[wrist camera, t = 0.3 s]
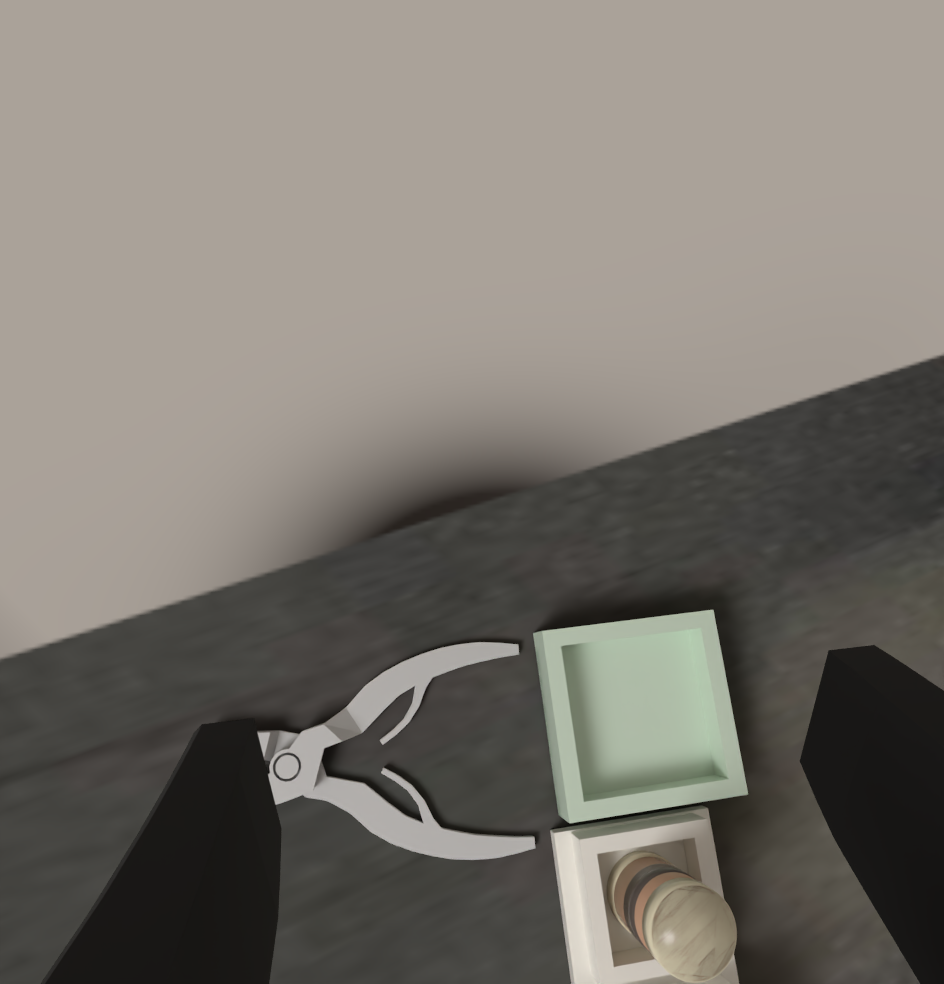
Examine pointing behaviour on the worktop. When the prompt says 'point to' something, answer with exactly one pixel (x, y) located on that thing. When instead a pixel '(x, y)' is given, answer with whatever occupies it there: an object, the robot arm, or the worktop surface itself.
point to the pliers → (305, 775)
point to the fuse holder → (583, 890)
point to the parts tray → (638, 716)
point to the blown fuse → (672, 916)
